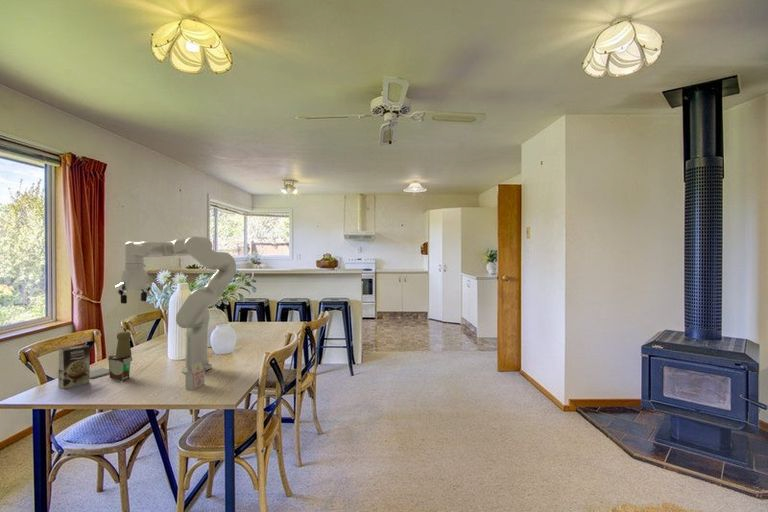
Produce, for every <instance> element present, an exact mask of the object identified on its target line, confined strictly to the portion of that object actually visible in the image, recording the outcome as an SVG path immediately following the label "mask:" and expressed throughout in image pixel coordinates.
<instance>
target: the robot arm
mask: <svg viewBox="0 0 768 512" xmlns="http://www.w3.org/2000/svg"><path fill="white" fill-rule="evenodd" d="M175 256H176V257H185V256H186V257H187V256H191V257H192V258H193V259H194V260H196V262H198V263H199V264H200V265H202V266H203V267H204V268H205V269H208V270H210V271H216V272H215V273H213V275H212V276H211V277H210V278H209V280H208V282H207V283H206V285H204V287H201V288H197V289H195V290H193V291H192V292H191V293H190V294H189V295H188V296H187V298H186V299H185V301H184V302H183V303H182V305H181V307H180V308H179V309H178V311H177V313H176V317H175V322H176V325H177V326H178V327H180V328H182V329H186V331H185V366H184V367H182V368H181V373H183V372H184V373H183V374H186V373H187V371H188V369H189V366H190V365H193V364H195V363H198V362H201V361H202V366H203V368H204V371H205V372H207V371H206V370H208V369H209V370H210V369H211V368H212V366H213V365H212V363H209V362H210V360H209V359H208V351H209V350H208V347H209V346H208V339H209V336H208V333H209V332H208V331H209V323H210V316H211V315H210V314H211V313H210V310H209V307H212V306H214V305H216V304H217V303H218V302H219V300H220V299H221V297H222V295H223V294H224V292H225V291H226V289H227V287H228V286H229V285H230V283H231V281H232V280H233V278H234V277H235V274H236V271H237V263H236V260H235V258H234V257H233V255H232V254H230V253H228V252H225V251H215V250H213V243H212V241H211V240H210V238H208V237H204V236H191V237H188V238H186V237H185V238H184V237H183V238H176V239H175V240H171V241H127V242H126V243H124V269H123V270H122V273H121V278H120V283H119V284H117V285H115V286H114V289H115V291H116V293H118V294H119V295H120V304H124V305H127V304H128V302H127V301H128V296H127V293H128V292H130V291H133V292H135V291H140V293H141V294H140V301H141V302H147V298H148V293H149V291H150V290H151V288H152V286H153V284H152V283H151V282H149V281H147V275H146V270H145V269H144V268H146V264H145V263H144V261H145V260H144V259H145V258H160V257H161V258H162V257H175ZM209 370H208V371H209Z"/></svg>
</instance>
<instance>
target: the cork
mask: <svg viewBox="0 0 768 512" xmlns="http://www.w3.org/2000/svg"><path fill="white" fill-rule="evenodd" d="M131 335H132V334H131V332H130V331H126V330H125V331H119V332H118V333H116V339H117V344H116V352H115V355H116V356H115V357H116V358H124V357H129V356H131V357H132V354H133V353H132V349H131V344H130V343H131V341H130V338H131Z"/></svg>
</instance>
